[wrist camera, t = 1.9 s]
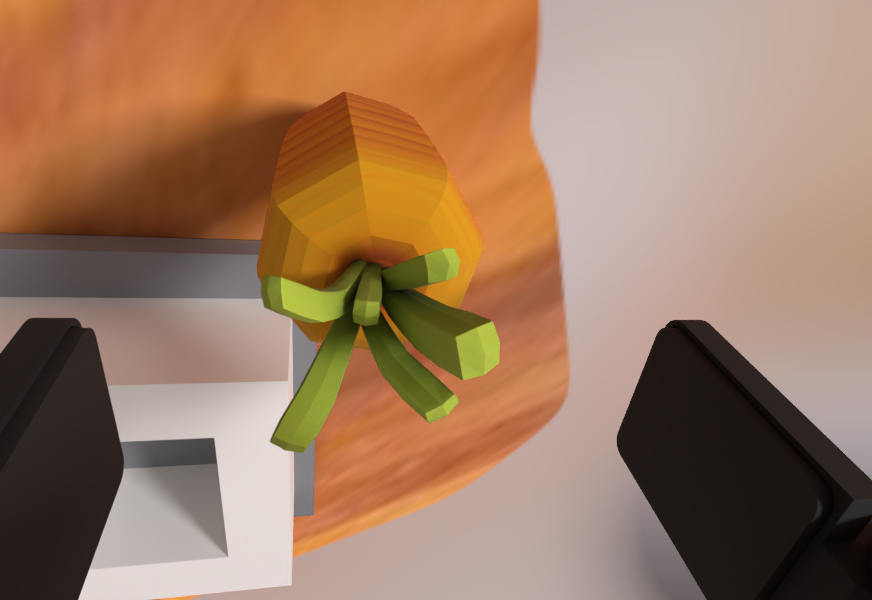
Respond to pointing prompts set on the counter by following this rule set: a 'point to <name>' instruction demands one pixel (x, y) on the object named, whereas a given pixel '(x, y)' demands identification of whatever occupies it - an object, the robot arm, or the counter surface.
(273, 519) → the socket stand
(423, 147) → the carrot
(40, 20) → the counter surface
